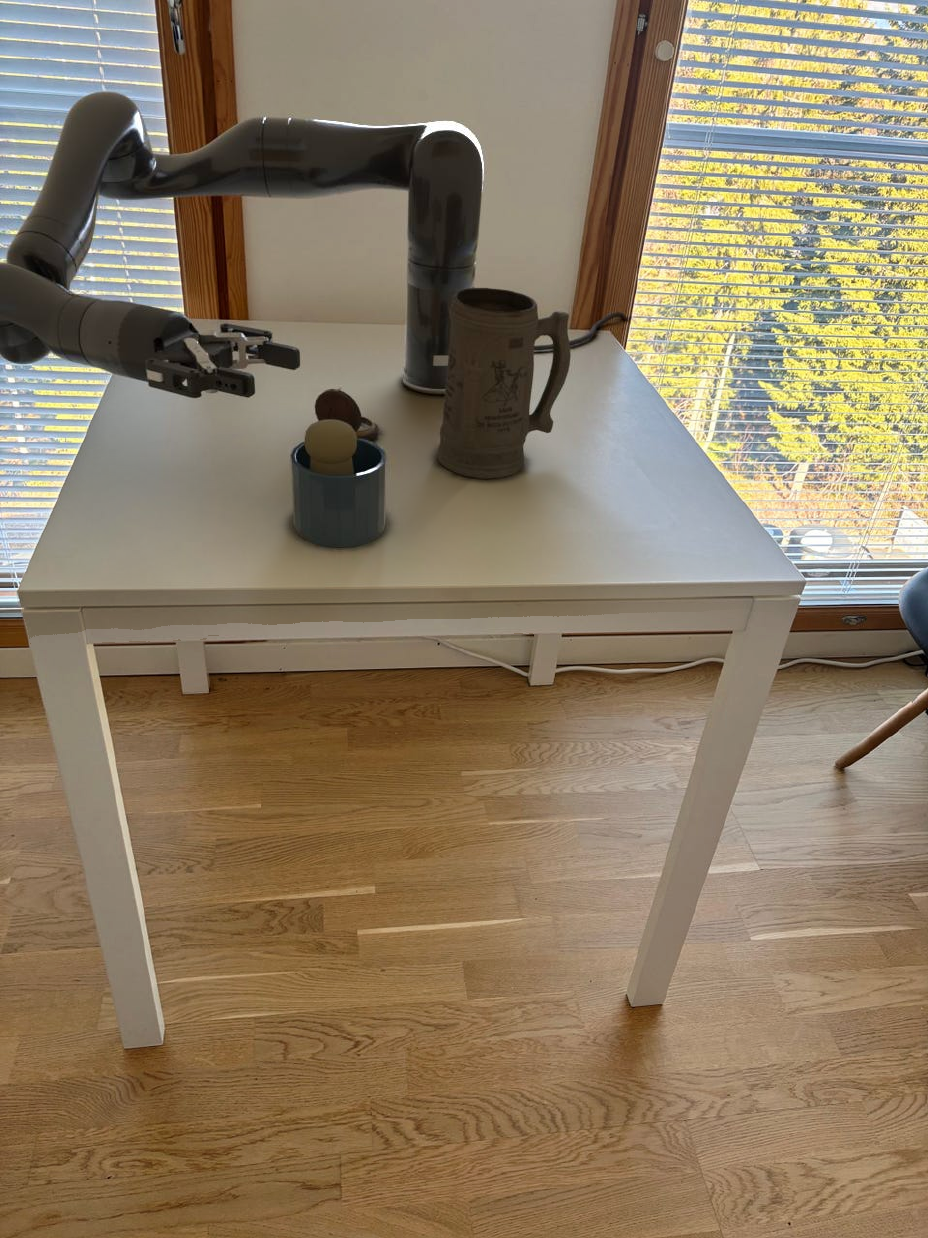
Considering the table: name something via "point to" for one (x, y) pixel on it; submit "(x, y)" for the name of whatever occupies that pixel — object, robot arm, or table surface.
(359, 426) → the compass
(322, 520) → the tumbler
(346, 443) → the cork
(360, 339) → the table surface
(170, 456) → the table surface
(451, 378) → the beer stein
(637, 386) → the table surface
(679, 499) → the table surface
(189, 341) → the robot arm
